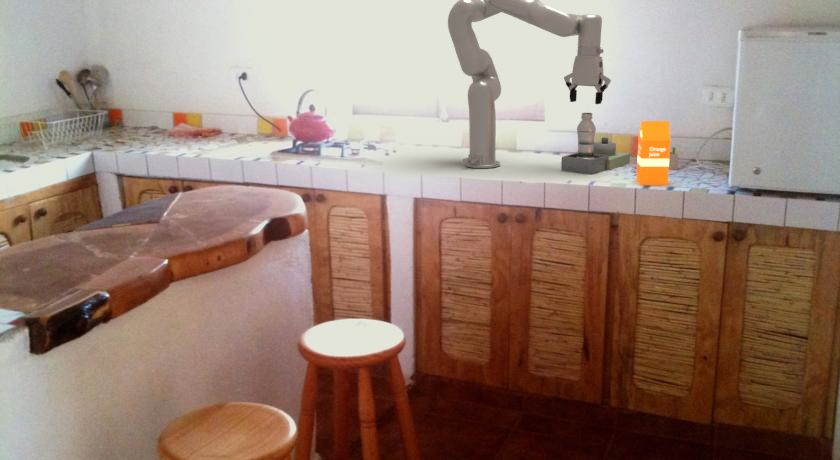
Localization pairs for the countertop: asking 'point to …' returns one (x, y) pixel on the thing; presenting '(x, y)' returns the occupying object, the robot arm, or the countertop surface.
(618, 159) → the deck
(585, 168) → the dark grey tray
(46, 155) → the countertop surface
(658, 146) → the orange juice
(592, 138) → the plastic bottle
